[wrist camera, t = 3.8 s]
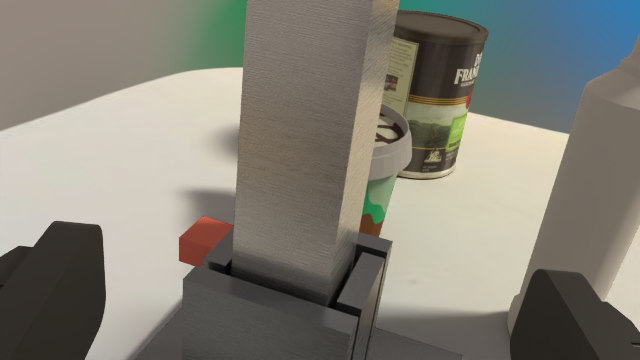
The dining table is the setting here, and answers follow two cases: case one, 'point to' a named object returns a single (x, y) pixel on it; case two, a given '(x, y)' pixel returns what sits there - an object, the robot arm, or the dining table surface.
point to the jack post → (307, 140)
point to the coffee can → (433, 85)
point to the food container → (385, 167)
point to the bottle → (594, 186)
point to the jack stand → (277, 311)
